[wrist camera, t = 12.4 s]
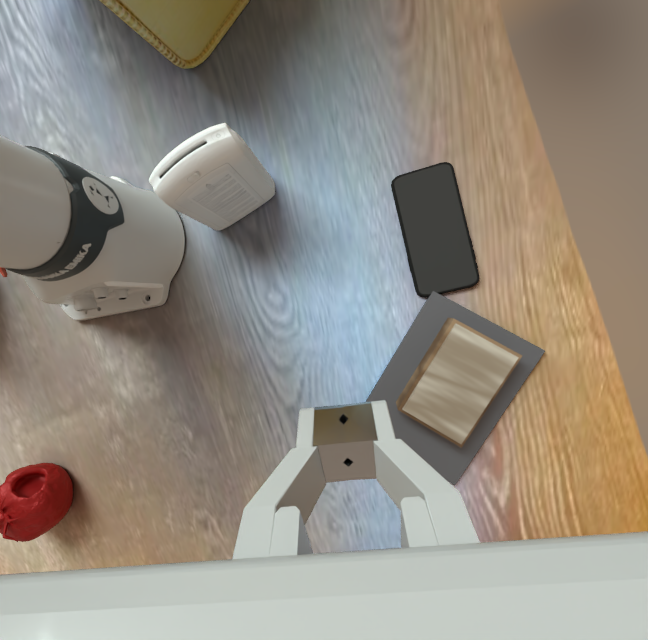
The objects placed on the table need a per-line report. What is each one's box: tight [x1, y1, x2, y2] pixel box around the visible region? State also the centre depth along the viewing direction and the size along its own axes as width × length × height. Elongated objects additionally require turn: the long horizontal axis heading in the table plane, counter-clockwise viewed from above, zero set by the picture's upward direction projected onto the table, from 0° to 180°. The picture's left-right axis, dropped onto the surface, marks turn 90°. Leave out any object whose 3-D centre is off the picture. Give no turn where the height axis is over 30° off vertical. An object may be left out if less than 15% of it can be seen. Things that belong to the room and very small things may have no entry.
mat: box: [366, 291, 545, 485], centre depth 36 cm, size 19×14×1 cm
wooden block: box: [396, 318, 522, 448], centre depth 34 cm, size 3×8×12 cm
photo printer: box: [149, 123, 275, 231], centre depth 33 cm, size 10×4×12 cm, turn 119°
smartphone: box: [391, 162, 479, 297], centre depth 35 cm, size 7×1×15 cm
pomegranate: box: [0, 463, 73, 542], centre depth 41 cm, size 10×10×9 cm
